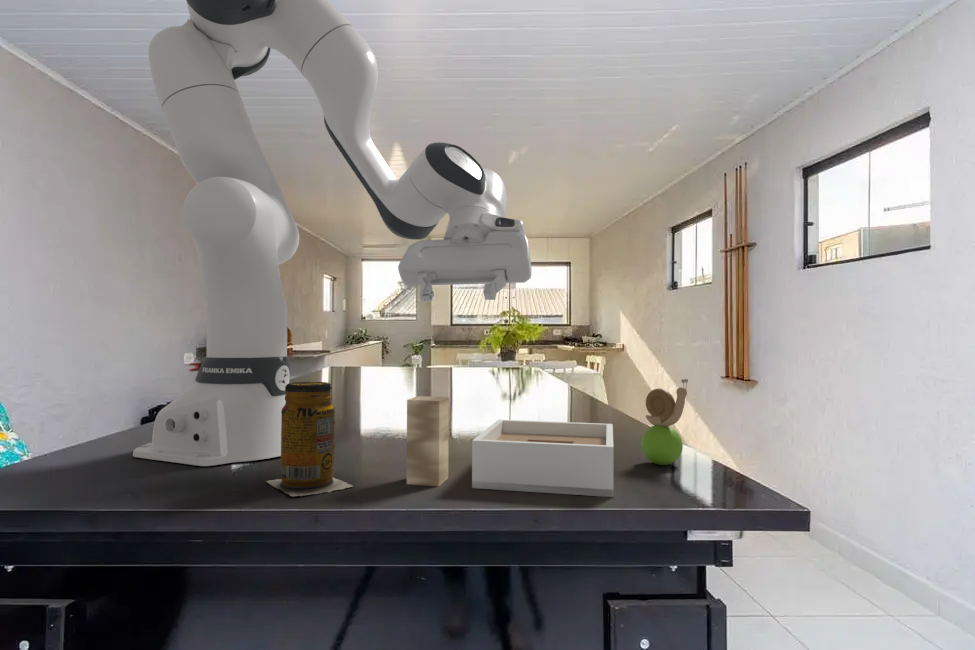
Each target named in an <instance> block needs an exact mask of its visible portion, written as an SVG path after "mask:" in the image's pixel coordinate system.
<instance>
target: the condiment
mask: <svg viewBox="0 0 975 650" xmlns="http://www.w3.org/2000/svg"><path fill="white" fill-rule="evenodd" d="M285 392H286V395H285V401H286V404H285V405H284V407H283V408H282V411H281V414H282V416H281V456H280V478H276V479H271V480H270V479H269V480H266V481H265V482H266V483H267V484H269V485H270V486H271V487H273V488H276V489H278V490H279V491H281V492H283V494H286V495H289V496H290V497H303V496H310V495H317V494H322V493H331V492H333V491H338V490H345V489H348V488H353V487H354V485H352V484H351V483H350V484H349V483H348V482H345V481H343V480H341V479H338V478H336V477H334V467H335V448H336V447H335V446H336V445H335V444H336V443H335V424H336V421H335V407H334V405H333V403H332V384H331V383H330V382H326V381H293V382H290V383H288V384H287V385H286V387H285Z"/></svg>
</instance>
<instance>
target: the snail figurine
mask: <svg viewBox="0 0 975 650" xmlns="http://www.w3.org/2000/svg"><path fill="white" fill-rule="evenodd" d="M680 381H681V383H682V386H679V387H678V388H677V389H676V391H675V393H676V399H675V398H674V396H673V395H672V394H671V392H669V391H668V390H667V389H663V388H655V389H652V390H651V391H650V392H648V394H647V395H646V399H645V408H646V410H647V412H648V413H649V414H650V415H649V414H645V418H646V421H648V422H649V423H650V425H652V426H650V427H649V428H648V429H646V431H645V432H644V433H643V435H642V438H641V443H640V444H641V445H640V446H641V451H642V453H643V455H644V456H645V458H647V460H648V461H650V462H652V463H654V464H655V465H660V466H668V465H671V464H673V463H674V462H676V461H677V460H678V459H679V458H680V456H681V454H682V453H683V440H682V437H681V436H680V434H679V433H678V431H677V430H676V429H675V428H673V427H671V426H673V425H675V424H676V423H678V422H679V421H680V419H681V417H682V414H683V411H684V407H685V402H686V397H687V396H688V389H687V384H688V382H689V380H688V379H687V378H682V379H681V380H680Z"/></svg>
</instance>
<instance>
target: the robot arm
mask: <svg viewBox="0 0 975 650" xmlns="http://www.w3.org/2000/svg"><path fill="white" fill-rule="evenodd" d="M185 1H186V5H187V10H188V13H189V17H190V19H189V18H188V19H187V21H186V22H185V23H184V24H182V25H177V26H176V25H175V26H170V27H167V28H164V29H162V30H160V31H159V32H157V33H156V34H155V35H154V36H153V37H152V38H151V39H150V42H149V45H148V59H149V67H150V71H151V72H150V73H151V77H152V81H153V87H154V89H155V93H156V96H157V99H158V103H159V105H160V108H161V111H162V114H163V116H164V119H165V121H166V124H167V126H168V131H169V132H170V135H171V138H172V140H173V142H174V145H175V148H176V150H177V154H178V156H179V158H180V161H181V164H183V166H184V168H185V170H187V172H188V173H189V175H190V176H191V178H192V179H193V181H194V182H195V185H194V186H193V187H192V188H191V189H190V191H189V192H188V194H187V195H186V197H185V199H184V202H183V208H182V215H183V217H182V218H183V221H184V224H185V227H186V229H187V230H188V231H187V232H188V233H189V234H190V237H191V238H192V240H193V243H194V247H195V251H196V257H197V261H198V267H199V271H200V276H201V281H202V286H203V291H204V298H205V307H206V308H205V309H206V356H205V357H203V359H202V361H200V362H193V363H189V364H188V365H189V366H194V367H193V368H190V369H189V370H188V371H189V372H197V374H196V376H195V378H194V381H195V383H193V384H192V385H191V386H190V387H189V388H187V389H186V390H185V391H183V392H182V393H181V394H180V395H178V396H177V397H176V398H175V399H173V400H172V401H170V402H169V403H168V404H166V406H164V407H163V408H161V410H159V412H158V413H157V415H156V417H155V419H154V423H153V427H152V428H153V430H152V435H151V436H152V437H151V438H152V440H151V442H148V443H146V444H143V445H140V446H138V447H136V448H135V449H133V451H132V452H133V453H132V457H134V458H140V459H147V460H154V461H162V462H170V463H176V464H177V463H178V464H184V465H191V466H199V467H211V466H217V465H225V464H230V463H239V462H240V463H241V462H252V461H259V460H265V459H271V458H278V457H281V416H282V414H281V411H282V408H283V407H284V405H285V404H286V401H285V395H286V392H285V387H286V385H287V384H288V383H291V358H290V357H289V355H288V303H287V300H286V297H285V293H284V289H283V284H282V283H283V282H282V279H281V273H280V272H281V271H280V265H283V264H285V263H286V262H288V261H289V260H291V259H292V257H293V256H294V255H295V254H296V252H297V250H298V247H299V244H300V232H299V228H298V225H297V223H296V221H295V219H294V217H293V214H292V212H291V210H290V208H289V205H288V203H287V201H286V198H285V196H284V194H283V192H282V190H281V187H280V185H279V183H278V181H277V179H276V177H275V175H274V173H273V170H272V169H271V167H270V165H269V163H268V161H267V159H266V157H265V155H264V153H263V151H262V148H261V146H260V144H259V142H258V139H257V136H256V134H255V131H254V129H253V126H252V123H251V121H250V118H249V115H248V112H247V110H246V108H245V105H244V102H243V100H242V97H241V94H240V92H239V89H238V87H237V83H236V80H237V79H239V78H241V77H246V76H250V75H252V74H255V73H257V72H258V71H259V70H261V69H262V68H263V67H264V66H265V65H266V63H267V61H268V59H269V57H270V54H271V49H272V50H275V51H277V52H278V53H280V54H282V55H283V56H285V57H286V58H287V59H288V60H290V61H291V62H292V64H293V65H294V66H295V68H296V69H297V70H298V71H299V73H300V74H301V75H302V77H304V78H305V79H306V81H307V82H308V83H309V85H310V87H311V88H312V89H313V92H314V93H315V96H316V98H317V99H318V102H319V104H320V107H321V110H322V113H323V122H324V126H325V129H326V131H327V132H328V135H329V136H330V138H331V139H332V141H333V143H334V144H335V147H337V149H338V151H339V152H340V153H341V155H342V156H343V158H344V160H345V161H346V162H347V164H348V166H349V167H350V168H351V170H352V171H353V173H354V174H355V175H356V177H357V179H358V180H359V181H360V183H361V184H362V186H363V188H364V189H365V191H366V192H367V194H368V195H369V197H370V198H371V199H372V201H373V203H374V205H375V207H376V209H377V212H378V213H379V216H380V217H381V219H382V222H383V223H384V225H385V226H386V227H387V229H388V230H389V231H390V232H391V233H393V235H395V236H396V237H399V238H402V239H407V240H420V241H415V242H413V243H412V244H409V246H408V247H407V249H406V251H405V252H404V254H403V256H402V257H401V259H400V261H399V264H398V266H397V268H398V273H399V274H398V275H399V277H400V279H401V281H402V282H403V284H404V285H405V286H407V287H417V286H418V287H419V288H420V291H419V297H420V300H421V302H432V301H433V298H434V296H435V293H434V291H433V286H451V285H452V286H454V285H455V286H456V285H482V284H483V285H484V286H483V287H484V288H483V296H484V300H485V301H493V300H494V301H495V300H496V299H497V294H498V293H499V292H500V291H501V290H502V289H504V288H505V287H506V285H507V284H514V283H515V284H516V283H517V284H519V283H520V284H521V283H522V284H523V283H526V282H527V281H529V280H530V279H531V278H532V261H531V252H530V245H529V240H528V238H527V235H526V233H527V232H526V230H525V227H524V222H523V221H522V220H521V219H516V218H509V217H506V213H507V206H508V196H507V195H508V194H507V189H506V185H505V183H504V180H503V178H502V177H500V175H499V174H497V172H495V171H493V170H491V169H489V168H486V167H482V165H481V164H480V163H479V162H478V161H477V160H476V159H475V157H473V155H471V154H470V153H469V152H468V151H466V150H465V149H464V148H462V147H460V146H459V145H456V144H452V143H448V142H441V141H440V142H438V141H437V142H431V143H429V144H428V145H426V147H425V148H424V149H423V150H422V151H421V152H420V154H419V155H418V156H417V157H416V158H415V159H414V161H412V163H411V165H410V166H409V167H408V168H407V169H406V171H404V173H403V174H402V175H401V176H400V177H399V178H397V177H396V175H395V174H394V172H393V170H392V169H391V167H390V166H389V165H388V163H387V161H386V160H385V158H384V157H383V156H382V154H381V152H380V151H379V149H378V148H377V147H376V145H375V143H374V141H373V138H372V135H371V134H372V133H371V129H370V128H371V127H370V126H371V125H370V123H371V114H372V113H371V112H372V109H373V104H374V100H375V96H376V93H377V89H378V84H379V69H378V68H379V67H378V61H377V58H376V56H375V53H374V52H373V50H372V48H371V46H370V45H369V44H368V42H367V41H366V40H365V39H364V37H363V36H362V34H360V33H359V32H358V30H357V29H356V28H355V27H354V26H353V25H352V24H351V22H350V21H349V20H348V18H346V17H345V16H344V15H343V14H342V13H341V12H340V10H339V9H337V8H336V7H335V6H334V5H333V4H332V3H331V2H330V1H329V0H185ZM446 215H448V216H449V221H448V224H447V226H446V230H445V233H444V236H443V239H429V240H423V239H426V238H427V237H428V236H429V235H430V234H431V233H432V231H433V230H434V229H435V228H436V227H437V225H438V223H439V222H440V220H442V219H443V218H444V217H445V216H446Z"/></svg>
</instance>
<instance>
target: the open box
mask: <svg viewBox="0 0 975 650" xmlns="http://www.w3.org/2000/svg"><path fill="white" fill-rule="evenodd" d="M613 426H614V424H613V423H602V422H599V423H597V422H576V421H575V422H572V421H571V422H570V421H543V420H541V421H540V420H521V419H519V420H517V419H516V420H515V419H497V420H495V422H493V423H492V424H491V425H490V426H489V427H488V428H486V429H485V430H483V431H482V432H481V433H480V434H478V435H477V436H475V438H473V439H472V441H471V442H472V443H471V445H472V446H471V450H472V451H471V488H472V489H481V490H482V489H483V490H498V491H513V492H515V491H516V492H528V493H530V492H531V493H542V494H543V493H544V494H559V495H575V496H577V495H578V496H591V497H593V496H594V497H606V498H608V497H609V498H614V427H613Z"/></svg>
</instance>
